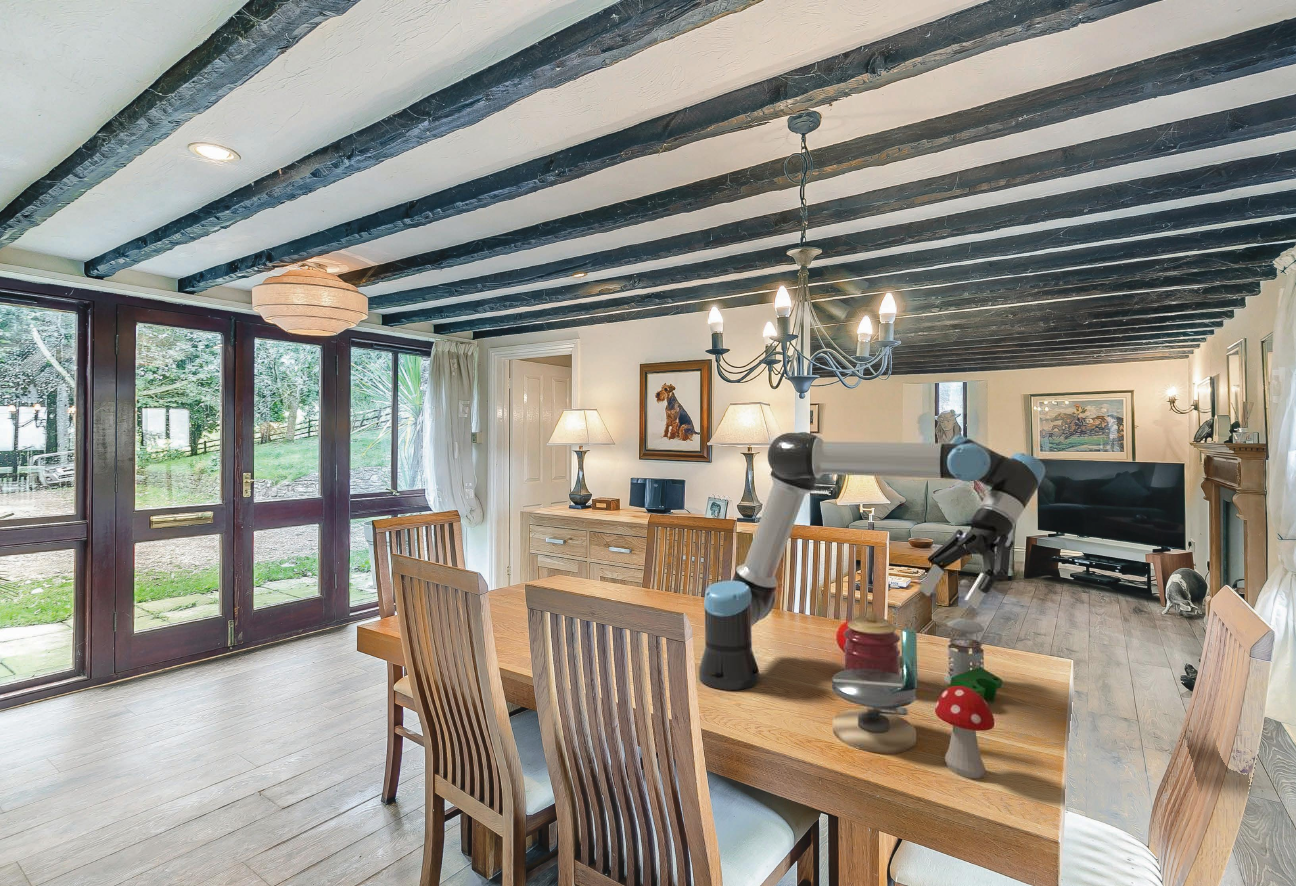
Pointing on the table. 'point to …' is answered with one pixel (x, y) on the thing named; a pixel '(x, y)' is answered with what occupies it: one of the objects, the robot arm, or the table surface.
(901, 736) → the cylinder
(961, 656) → the french press
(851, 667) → the canister
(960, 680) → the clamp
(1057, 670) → the table surface
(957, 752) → the decorative mushroom
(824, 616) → the table surface
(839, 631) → the tomato
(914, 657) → the crank wheel
